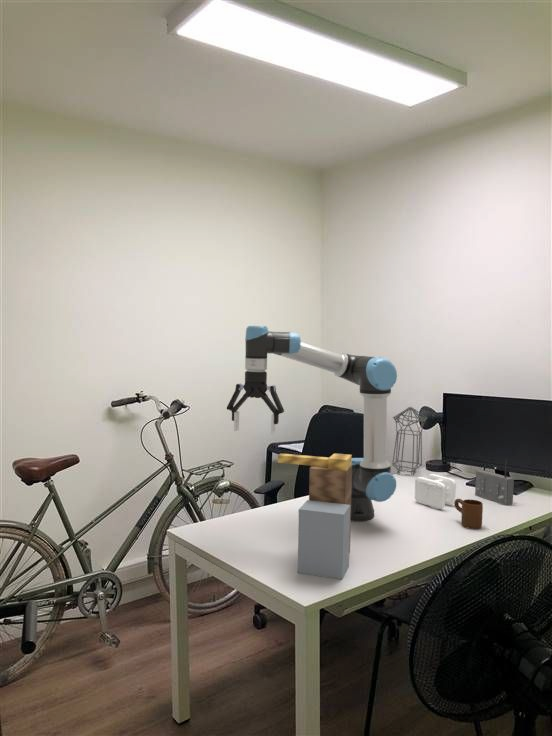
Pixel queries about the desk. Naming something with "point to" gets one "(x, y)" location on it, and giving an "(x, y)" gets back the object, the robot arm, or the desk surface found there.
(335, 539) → the grey stand
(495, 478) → the electronic device
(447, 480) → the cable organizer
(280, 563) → the desk surface
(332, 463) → the handle bar
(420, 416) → the geometric lantern
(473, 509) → the mug
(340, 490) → the walnut post
